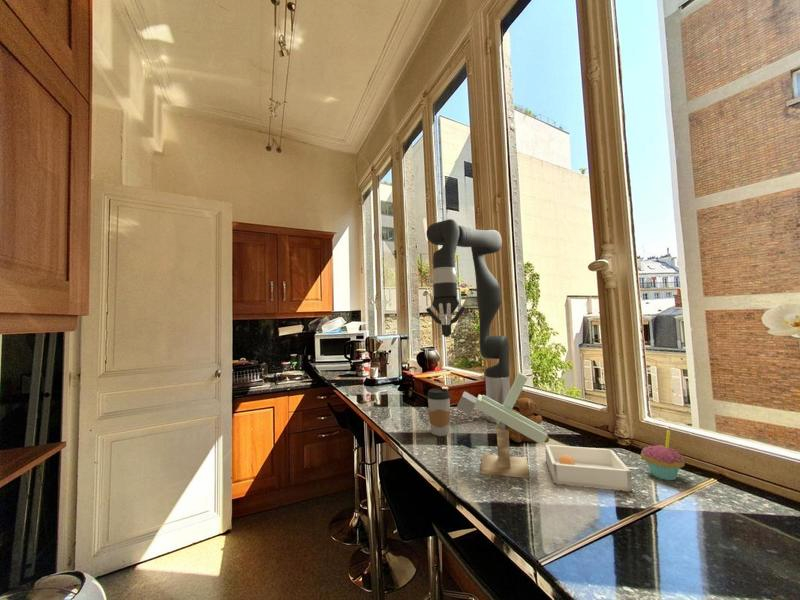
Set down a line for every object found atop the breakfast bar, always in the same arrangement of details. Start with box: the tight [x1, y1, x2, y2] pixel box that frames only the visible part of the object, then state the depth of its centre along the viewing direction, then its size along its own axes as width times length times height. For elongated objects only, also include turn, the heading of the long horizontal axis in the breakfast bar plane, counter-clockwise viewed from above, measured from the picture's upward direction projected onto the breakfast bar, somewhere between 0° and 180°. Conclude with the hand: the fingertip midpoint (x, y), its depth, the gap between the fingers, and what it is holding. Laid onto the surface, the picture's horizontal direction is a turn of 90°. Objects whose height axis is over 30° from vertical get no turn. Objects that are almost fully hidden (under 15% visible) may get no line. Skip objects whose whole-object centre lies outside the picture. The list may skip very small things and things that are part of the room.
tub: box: [544, 444, 633, 492], centre depth 83 cm, size 16×13×4 cm
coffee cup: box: [426, 387, 451, 437], centre depth 117 cm, size 8×8×15 cm
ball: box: [559, 455, 575, 465], centre depth 84 cm, size 4×4×4 cm
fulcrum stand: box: [480, 422, 531, 479], centre depth 89 cm, size 12×10×11 cm
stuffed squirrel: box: [508, 397, 550, 444], centre depth 109 cm, size 10×14×13 cm
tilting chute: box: [456, 372, 549, 446], centre depth 90 cm, size 23×10×16 cm, turn 73°
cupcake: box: [640, 427, 685, 481], centre depth 81 cm, size 9×8×12 cm
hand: (446, 336), depth 104 cm, fingers closed
